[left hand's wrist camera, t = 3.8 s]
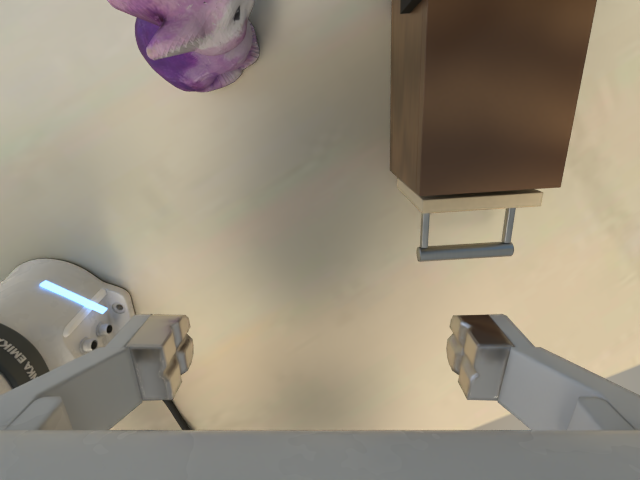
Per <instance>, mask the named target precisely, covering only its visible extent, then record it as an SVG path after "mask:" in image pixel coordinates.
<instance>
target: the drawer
mask: <svg viewBox="0 0 640 480" xmlns="http://www.w3.org/2000/svg"><path fill="white" fill-rule="evenodd" d="M397 188H398V189H399V190H400V191H401V192H402V193H403V194H404V195H405V196H406V197H407V198H408V199H409V200H410V201H411V203H412V204H413V205H414V206H415V207H416V208H417V209H418V210H419V211H420V212H421V236H420V247H418V248H417V259H418V261H419V262H422V261H438V260H455V259H471V258H487V257H504V256H512V255H513V253H514V247H513V244H512V243H511V235H512V229H513V222H514V215H515V209H516V208H519V207H535V206H541V202H542V197H543V192H541V191H538V190H535V189H525V190H510V191H495V192H479V193H464V194H449V195H433V196H419V195H417V194H416V193H415V192H414V191H413V190H412V189H411V188H410V187H408V186H407V185H406V184H405V183H404V182H403V181H402V180H400V179H399V178H397ZM504 208H506V212H505V220H504V227H503V234H502V242H491V243H475V244H458V245H442V246H428V232H429V214H430V213H441V212H457V211H472V210H488V209H504Z"/></svg>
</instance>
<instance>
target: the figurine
mask: <svg viewBox="0 0 640 480" xmlns="http://www.w3.org/2000/svg"><path fill="white" fill-rule="evenodd" d="M107 1H108V2H109V3H110V4H111V5H112V6H113V7H114V8H116V9H118V10H120V11H123V12H125V13H128V14H130V15H133V16H135V17H137V18H136V23H135V36H136V41H137V45H138V48H139V50H140V52H141V54H142V55H143V57H144V58H145V60H146V61H147V62H148V63H149V65H150V66H151V67H152V68H153V69H154V70H155V71H156V72H157V73H158V74H159V75H160V76H162V77H163V78H164V79H165V80H167V81H168V82H169V83H171V84H172V85H174V86H175V87H177V88H179V89H181V90H184V91H196V92H209V91H212V90H215V89H218V88H222V87H224V86H227V85H229V84H230V83H233V82H235V81H236V79H237V78H238V77H239V76H240V75H241V74H242V71H243V69H245V68H246V67H248V66H249V65H251V64H253V63H254V62H255V61H256V60H257V59H258V57H259V47H258V45H257V43H258V42H257V39H256V35H255V34H256V33H255V30H254V27H253V26H252V23H251V22H250V21H249V19H248V18H249V15H250V13H251V11H252V8H253V6H254V2H255V0H107Z"/></svg>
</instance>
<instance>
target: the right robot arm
mask: <svg viewBox="0 0 640 480" xmlns="http://www.w3.org/2000/svg"><path fill="white" fill-rule="evenodd" d="M421 1H422V0H400V14H407V13H410V12H411V11H412V10H413V9H414V8H415V7H416V6H417V5H418V4H419V3H420V2H421Z"/></svg>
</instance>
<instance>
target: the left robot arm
mask: <svg viewBox="0 0 640 480" xmlns="http://www.w3.org/2000/svg"><path fill="white" fill-rule="evenodd" d="M120 305H122V306H123V307H121V306H120ZM189 328H190V323H189V318H188V317H187V316H186V315H162V314H154V315H153V314H138V315H135V313H134V309H133V305H132V301H131V297H130V294H129V293H128V292H127V291H126V290H124V289H122V288H120V287H117V286H114V285H111V284H108V283H105V282H103V281H101V280H100V279H98V278H97V277H95V276H94V275H93V274H91V273H90V272H88V271H86V270H85V269H83V268H81V267H79V266H77V265H74V264H72V263H69V262H66V261H62V260H56V259H35V260H31V261H28V262H25V263H23V264H21V265H19V266H18V267H16V268H15V269H14V270H13V271H12V272H11V273H10V274H9V275H8V277H7V278H6V279H5V280H4V281H3V282H2V283H0V480H640V395H638V394H636V393H634V392H632V391H629V390H627V389H625V388H623V387H621V386H619V385H617V384H615V383H613V382H611V381H609V380H607V379H605V378H603V377H601V376H599V375H597V374H595V373H592V372H590V371H588V370H586V369H584V368H582V367H580V366H578V365H576V364H574V363H572V362H570V361H568V360H566V359H564V358H562V357H560V356H557V355H555V354H553V353H551V352H549V351H547V350H545V349H543V348H541V347H535V346H534V345H533V344H532V343H531V342H530V341H529V340H528V339H527V338H526V337H525V335H524V334H523V333H522V332H521V331H520V330H519V329H518V328H517V327H516V326H515V325H514V323H513V322H512V321H511V320H510V319H509V318H508V317H507V316H506V315H503V314H489V315H453V317H452V319H451V322H450V328H451V330H452V332H453V334H452V335H451V336H450V337H449V338H448V340H447V348H446V349H447V358H448V362H449V365H450V367H451V369H452V371H454V372H455V373H457V374H458V375H459V379H458V383H459V385H460V387H461V389H462V390H463V392H464V394H465V396H466V398H467V400H495V401H498V403H499V404H501V405H502V406H503V407H504V408H505V409H507V410H508V411H509V412H510V413H512V414H513V415H514V416H515V417H516V418H518V419H519V420H520V421H521V422H523V423H524V424H525V425H526V426H527V427H529V428H530V429H531V430H190V429H189V427H188V426H187V425H186V423H185V422H184V420H183V419H182V417H181V415H180V414H179V412H178V411H177V409H176V407H175V406H174V404H173V403H172V401H171V400H173V398H174V396H175V394H176V392H177V391H178V389H179V387H180V385H181V383H182V379H181V375H182V374H183V373H185V372H186V371H188V369H189V367H190V365H191V362H192V357H193V340H192V338H191V337H190V336H189V335H188V334H187V332H188V330H189ZM145 400H163V402H164V403H165V404H166V405H167V407H168V408H169V410H170V411H171V413H172V414H173V416H174V418H175V419H176V421H177V422H178V424H179V425H180V427H181V428H182V430H109V429H110V428H112V427H113V426H114V425H115V424H116V423H118V422H119V421H120V420H121V419H123V418H124V417H125V416H126V415H127V414H129V413H130V412H131V411H132V410H133V409H135V408H136V407H137V406H138V405H140V404H141V403H142V401H145Z"/></svg>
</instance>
